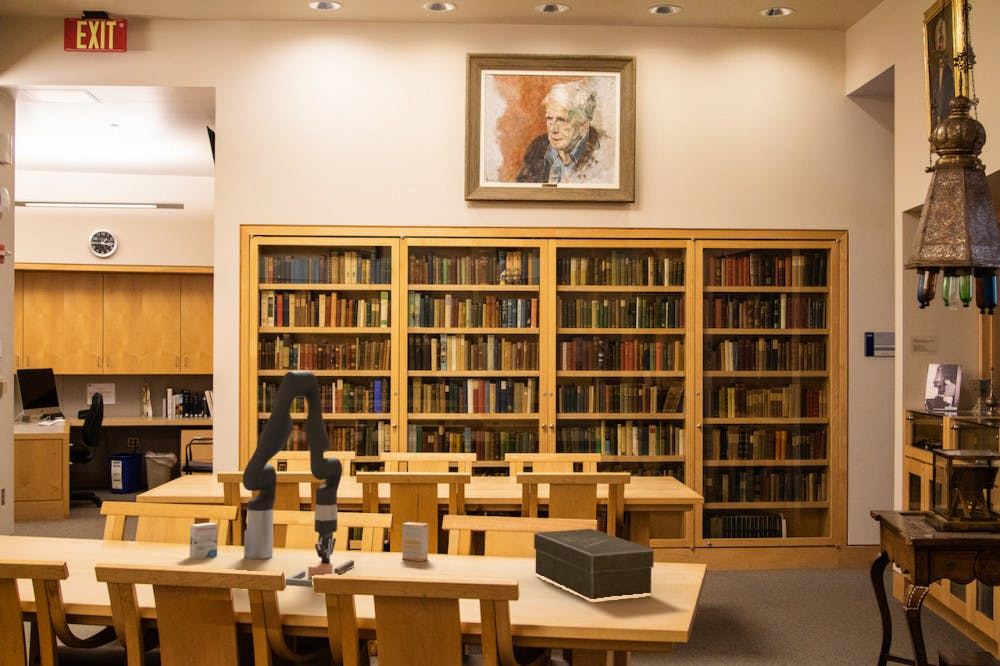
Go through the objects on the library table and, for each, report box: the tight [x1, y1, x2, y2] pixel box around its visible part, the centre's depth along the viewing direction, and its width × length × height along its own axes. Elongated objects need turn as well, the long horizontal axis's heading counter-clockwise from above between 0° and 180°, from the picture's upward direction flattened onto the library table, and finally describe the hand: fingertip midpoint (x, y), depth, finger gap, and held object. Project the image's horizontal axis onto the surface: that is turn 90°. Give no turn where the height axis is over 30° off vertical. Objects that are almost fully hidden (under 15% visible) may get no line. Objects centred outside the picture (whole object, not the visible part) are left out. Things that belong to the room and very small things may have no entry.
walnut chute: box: [318, 558, 355, 575], centre depth 348 cm, size 10×14×2 cm
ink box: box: [189, 522, 219, 560], centre depth 366 cm, size 9×5×12 cm, turn 129°
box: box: [533, 528, 655, 599], centre depth 330 cm, size 22×39×15 cm, turn 25°
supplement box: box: [401, 521, 429, 562], centre depth 367 cm, size 8×5×13 cm, turn 65°
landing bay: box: [285, 570, 338, 587], centre depth 332 cm, size 13×12×2 cm
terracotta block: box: [307, 562, 333, 580], centre depth 337 cm, size 6×6×4 cm
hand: (325, 569), depth 342 cm, fingers closed
